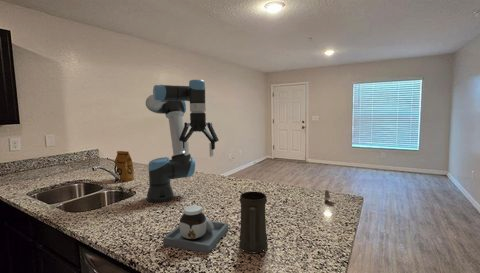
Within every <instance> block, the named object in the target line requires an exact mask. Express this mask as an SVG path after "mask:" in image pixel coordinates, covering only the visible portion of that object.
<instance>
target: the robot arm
mask: <svg viewBox="0 0 480 273" xmlns="http://www.w3.org/2000/svg"><path fill="white" fill-rule="evenodd" d="M186 102H189V112H190V113H189V121H190V122H187V121H186V122H184V121H183V117H184V116H185V114H186V112H187V104H186ZM145 106H146V108H147V109H148V110H149V111H150V112H153V113H156V114H160V115H161V114H163V115H164V114H165V118H167V119H168V125H169V131H170V139H171V144H172V145H171V147H172V153H173V154H172V156H171V159H170V158H169V157H166V156H165V157H158V158H155V159H151V160H149V162H148V169H147V170H148V184H149V187H148V190H147V194H146V201H148V202H149V203H165V202H168V201H170V200H173V199H174V197H175V196H174V191H173V188H172V186H171V180H176V179H182V178H183V179H187V178H189V177H192V176H193V175H194V174H195V171H196V161H195V158H194V157H192V156H191V153H189V152H190V151H189V141H188V140H189V139H190V138H191V137H192V135H193V134H194V132H199V133H201V132H202V133H203V135H204V136H205V137H206V138H207V140H208V141H209V142H210V143H209V144H208V145H209V157H210V158H212V157H213V156H214V150H215V149H216V143H217V142H219V138H218V136H217V134H216V132H215V130H214V127H213V123H212V122H206V120H207V118H206V113H205V112H206V83H205V80H203V79H191V80H189V82H188V85H172V84H171V85H168V84H167V85H166V84H154V86H153V89H152V94H150V95H148V97H146V100H145ZM206 127H207V128H208V129H207V128H206ZM189 128H190V129H189Z"/></svg>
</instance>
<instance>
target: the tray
mask: <svg viewBox="0 0 480 273" xmlns="http://www.w3.org/2000/svg"><path fill="white" fill-rule="evenodd" d="M211 221H212V223H213V225H214V230H213V231H212V232H208V231H206V233H205V234H204V236H203V237H202V238H201V239H199V240H196V241H188V240H186V239H184V238H183V237H182V236H181V234H180V224H179V225H178V226H176V227H175V228H174V229H172V230H171V231H170V232H169V233H168V234H166V235H165V236H164V237H163V238H162V240H163V241H162V242H163V243H162V244H163V246H164V247H170V248H175V249H181V250H188V251H191V250H192V252H197V253H203V252H204V253H203V254H208V253H210V254H211V252H212V251H213V250H214V249H215V248H216V246H217V245H218V244H219V242H220V241H221V240H222V239H223V238H224V237H225V235H226V234H225V233H227V232H228V231H229V222H228V223H227V222H222V221H221V222H220V221H215V220H214V221H213V220H211ZM221 238H222V239H221ZM217 243H218V244H217ZM216 244H217V245H216ZM213 248H214V249H213ZM212 249H213V250H212Z"/></svg>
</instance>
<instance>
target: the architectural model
mask: <svg viewBox="0 0 480 273" xmlns="http://www.w3.org/2000/svg"><path fill="white" fill-rule="evenodd" d="M329 200H331V201H332V195H331V194H330V192H329V189H326V188H324V202H328V203H329Z"/></svg>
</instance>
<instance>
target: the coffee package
mask: <svg viewBox="0 0 480 273" xmlns="http://www.w3.org/2000/svg"><path fill="white" fill-rule="evenodd" d="M116 153H117V154H116V156H115V160H114V166H115V165H116V164H117V172H118V173H119V175H120V180H119V181H121V182H128V183H129V182H131V181H133V180H135V178H134V177H135V176H134V171H135V170H134V163H133V159H132V157H131V154H130V153H129V151H125V150H117V151H116Z"/></svg>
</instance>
